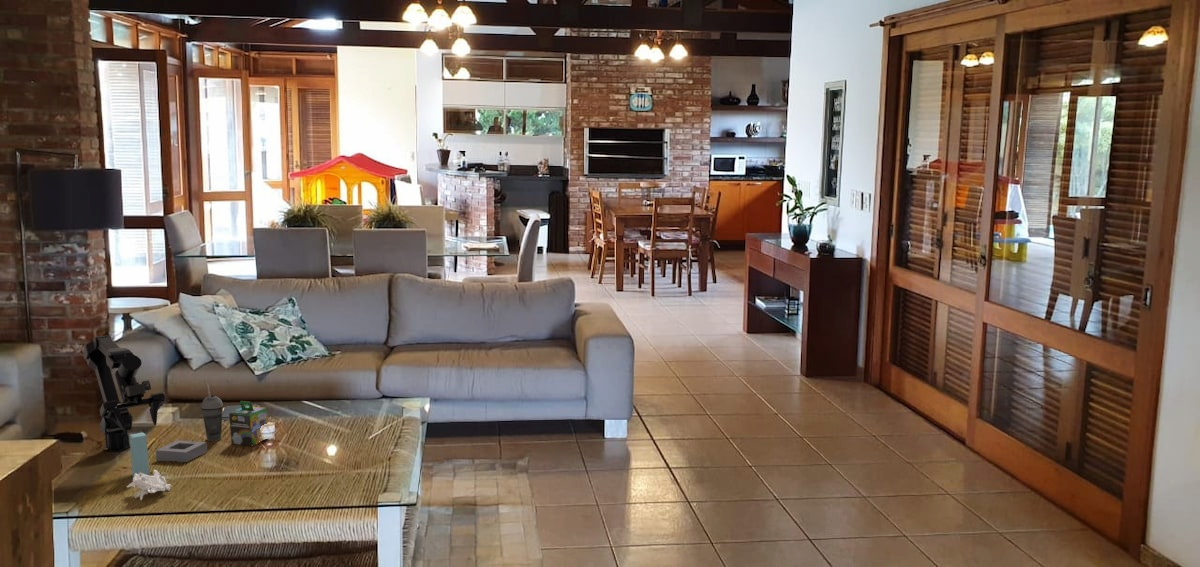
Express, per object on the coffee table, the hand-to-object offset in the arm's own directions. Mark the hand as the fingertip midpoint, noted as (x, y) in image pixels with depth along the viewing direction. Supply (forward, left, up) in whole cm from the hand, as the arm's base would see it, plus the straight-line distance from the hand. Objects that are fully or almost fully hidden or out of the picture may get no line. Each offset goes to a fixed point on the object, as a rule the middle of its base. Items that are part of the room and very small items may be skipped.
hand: (140, 427), depth 300 cm
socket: (+6, +12, -13) cm, 18 cm away
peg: (+5, -7, -13) cm, 15 cm away
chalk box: (+19, +31, -13) cm, 38 cm away
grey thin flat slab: (-7, +63, -14) cm, 64 cm away
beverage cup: (+5, +31, -13) cm, 34 cm away
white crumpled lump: (+19, -21, -13) cm, 31 cm away
